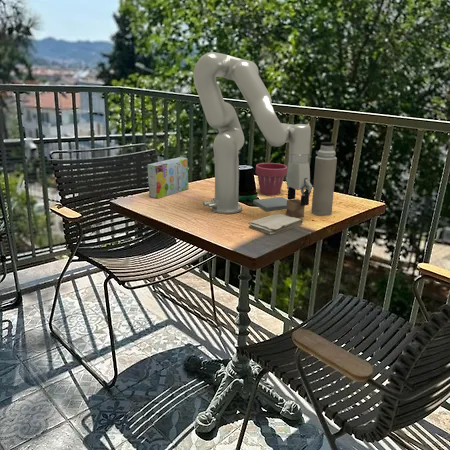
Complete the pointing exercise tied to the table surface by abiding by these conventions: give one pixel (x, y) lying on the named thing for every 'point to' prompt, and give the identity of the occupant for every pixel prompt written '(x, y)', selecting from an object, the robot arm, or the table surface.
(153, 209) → the table surface
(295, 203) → the walnut block
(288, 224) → the washcloth
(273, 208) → the slate board
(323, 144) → the thermos bottle
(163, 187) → the snack box
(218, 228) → the table surface
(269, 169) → the plant pot
